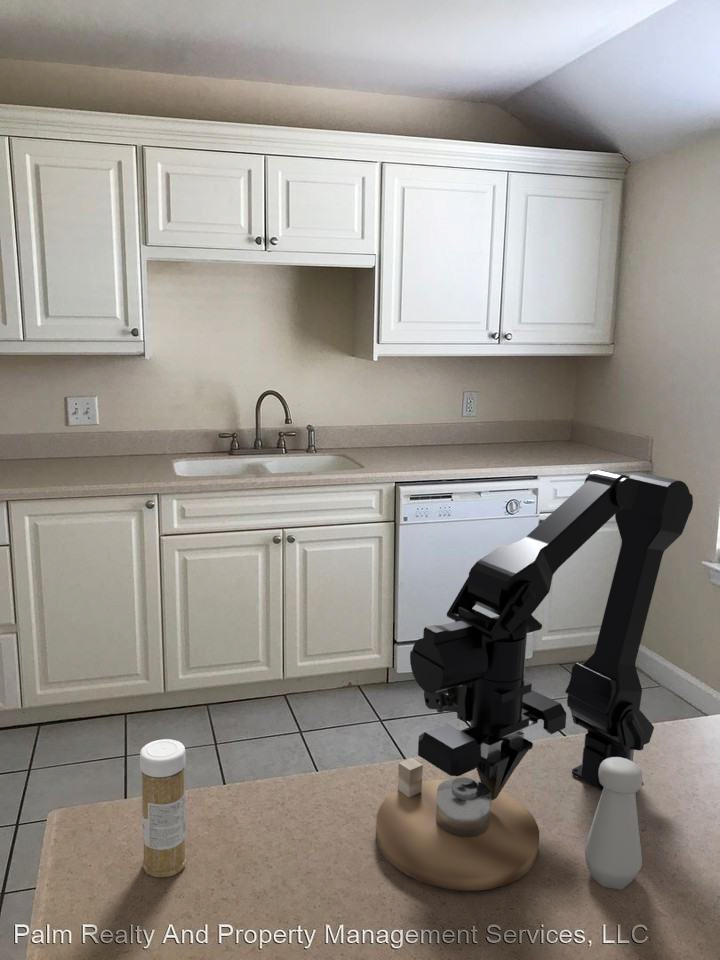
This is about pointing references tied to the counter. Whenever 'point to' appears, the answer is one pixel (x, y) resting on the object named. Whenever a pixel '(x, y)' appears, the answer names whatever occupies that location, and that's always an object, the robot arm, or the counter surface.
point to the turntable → (453, 838)
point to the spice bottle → (163, 807)
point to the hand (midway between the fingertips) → (490, 798)
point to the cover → (463, 807)
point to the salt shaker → (615, 826)
